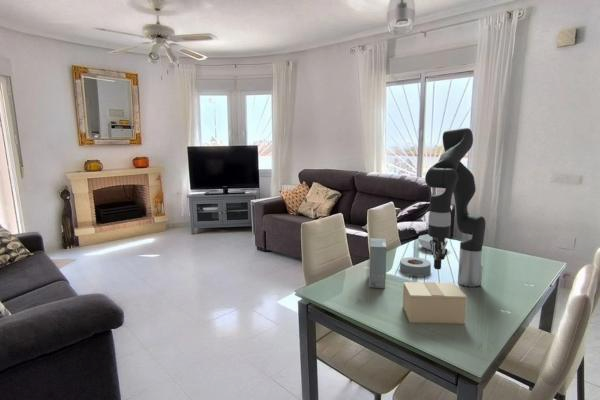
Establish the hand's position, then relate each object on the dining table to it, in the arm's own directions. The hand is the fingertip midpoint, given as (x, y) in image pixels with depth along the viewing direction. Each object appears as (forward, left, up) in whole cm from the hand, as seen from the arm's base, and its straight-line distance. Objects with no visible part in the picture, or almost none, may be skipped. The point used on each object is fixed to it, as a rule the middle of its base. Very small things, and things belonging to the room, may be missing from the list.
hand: (437, 268), depth 127 cm
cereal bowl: (-25, -89, -21) cm, 95 cm away
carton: (0, -3, -20) cm, 21 cm away
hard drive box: (+17, -35, -21) cm, 44 cm away
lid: (0, -3, -10) cm, 11 cm away
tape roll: (-5, -51, -21) cm, 55 cm away
